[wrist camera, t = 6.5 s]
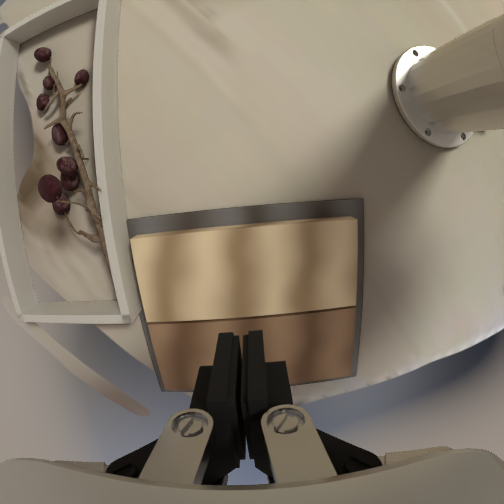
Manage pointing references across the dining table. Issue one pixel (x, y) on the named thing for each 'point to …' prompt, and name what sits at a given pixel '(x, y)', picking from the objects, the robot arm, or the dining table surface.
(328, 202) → the walnut floor board
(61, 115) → the decorative branch
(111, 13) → the branch tray
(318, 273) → the oak plank
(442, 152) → the dining table surface
